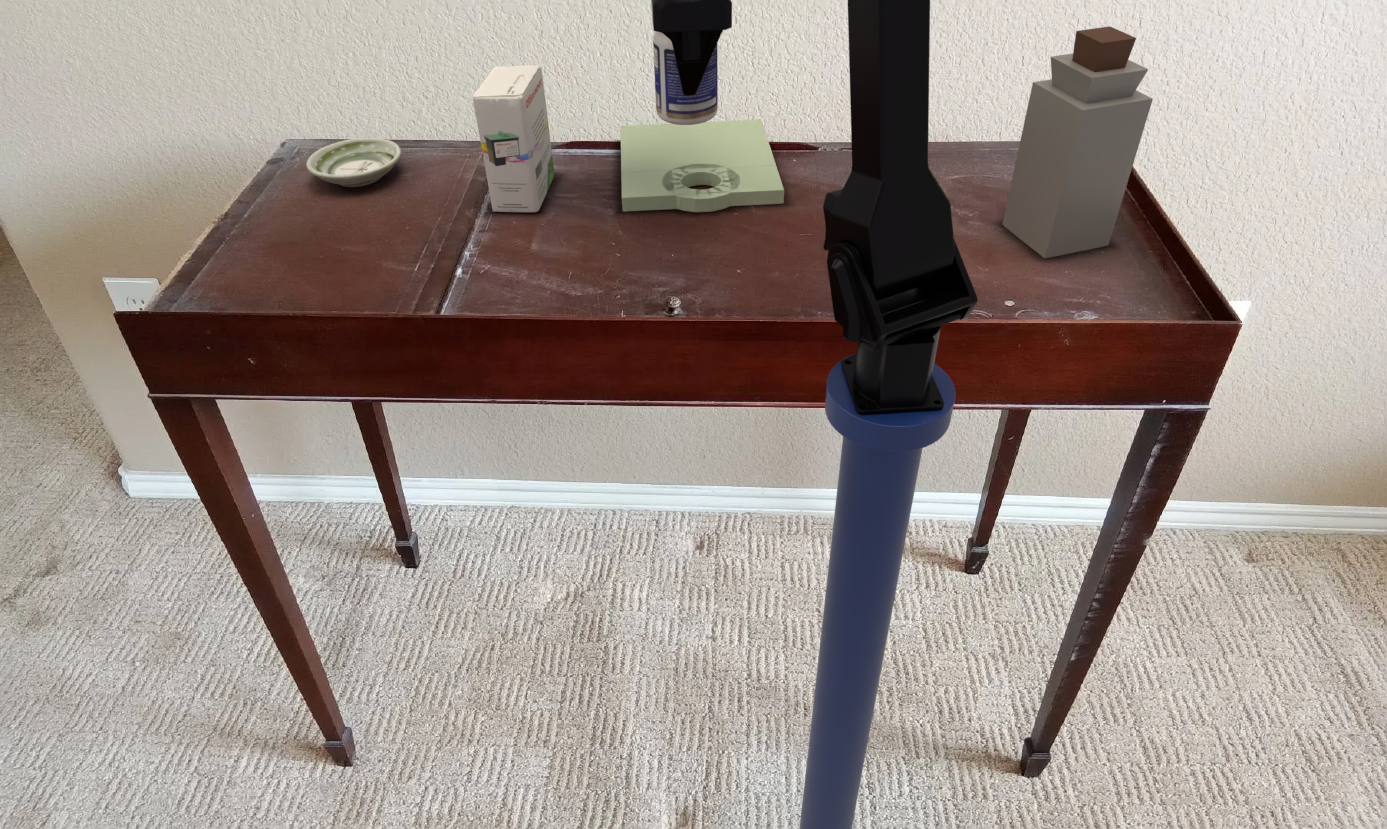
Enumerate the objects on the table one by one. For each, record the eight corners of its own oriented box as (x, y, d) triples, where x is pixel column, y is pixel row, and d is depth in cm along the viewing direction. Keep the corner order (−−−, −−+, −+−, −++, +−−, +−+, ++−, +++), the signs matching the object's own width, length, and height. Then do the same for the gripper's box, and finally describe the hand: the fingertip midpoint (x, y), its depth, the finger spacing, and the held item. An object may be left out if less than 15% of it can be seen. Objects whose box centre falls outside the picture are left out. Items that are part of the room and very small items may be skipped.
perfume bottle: (1063, 213, 88) (1114, 17, 77) (1108, 245, 83) (1170, 41, 72) (1002, 224, 87) (1044, 27, 75) (1044, 258, 82) (1097, 52, 70)
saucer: (322, 160, 101) (316, 139, 100) (411, 155, 102) (406, 134, 100) (303, 200, 94) (296, 178, 92) (399, 194, 94) (393, 171, 93)
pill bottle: (730, 113, 85) (731, 0, 79) (688, 132, 82) (686, 16, 76) (685, 98, 88) (682, -12, 82) (643, 116, 85) (637, 3, 79)
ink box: (510, 175, 97) (492, 62, 90) (556, 176, 97) (542, 63, 89) (490, 212, 91) (469, 94, 83) (539, 213, 90) (522, 95, 83)
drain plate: (785, 208, 90) (785, 194, 89) (622, 216, 90) (621, 202, 89) (761, 131, 105) (761, 118, 104) (621, 138, 104) (620, 125, 103)
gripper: (583, -131, 80) (598, 52, 90) (579, -84, 66) (597, 127, 76) (710, -135, 81) (711, 47, 91) (733, -89, 66) (731, 121, 76)
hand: (686, 82), depth 83 cm, fingers closed on pill bottle, 6 cm apart
